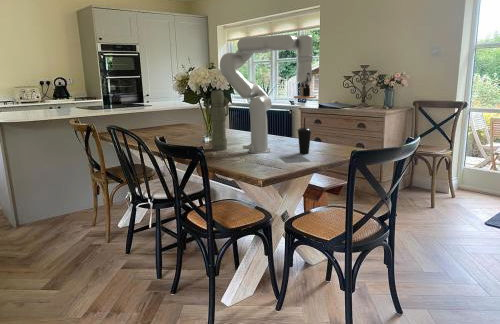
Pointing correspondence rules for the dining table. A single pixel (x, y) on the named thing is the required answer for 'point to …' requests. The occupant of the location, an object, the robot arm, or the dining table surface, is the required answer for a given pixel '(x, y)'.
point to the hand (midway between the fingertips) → (304, 95)
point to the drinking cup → (304, 139)
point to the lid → (302, 95)
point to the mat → (294, 159)
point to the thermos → (218, 120)
